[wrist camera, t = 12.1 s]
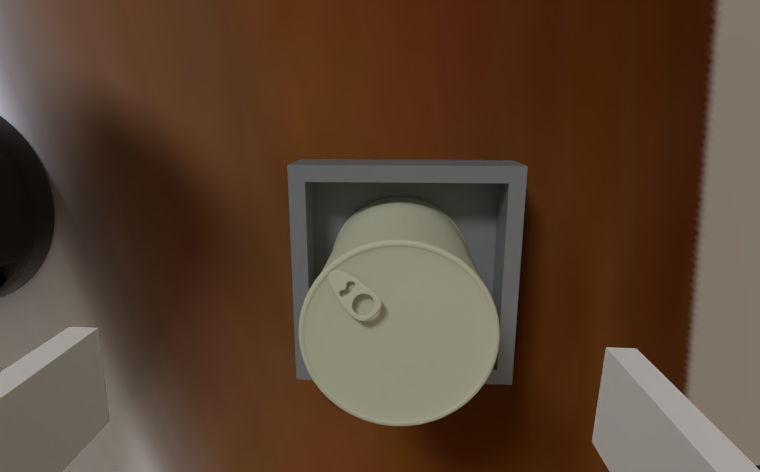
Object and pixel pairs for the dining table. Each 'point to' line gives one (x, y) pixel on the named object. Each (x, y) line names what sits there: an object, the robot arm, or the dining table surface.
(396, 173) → the tray
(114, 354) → the dining table surface
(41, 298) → the dining table surface
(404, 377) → the can
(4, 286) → the robot arm
